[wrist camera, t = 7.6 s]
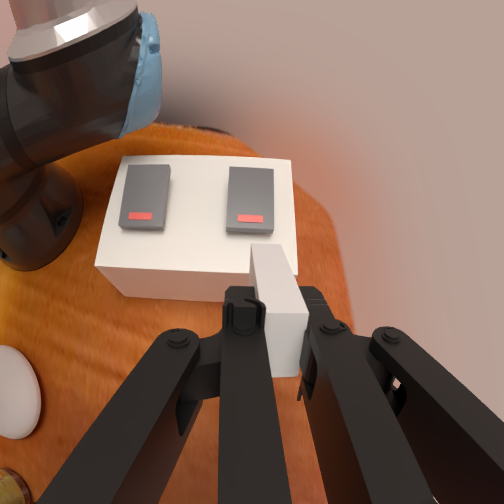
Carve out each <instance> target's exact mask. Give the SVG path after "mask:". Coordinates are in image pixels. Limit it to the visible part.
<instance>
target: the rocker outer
mask: <svg viewBox="0 0 504 504" xmlns="http://www.w3.org/2000/svg"><path fill="white" fill-rule="evenodd" d="M273 231H274V169H269V168H252V167H232V166H229V182H228V199H227V217H226V232H246V233H269V234H273Z"/></svg>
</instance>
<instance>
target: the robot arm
mask: <svg viewBox="0 0 504 504" xmlns="http://www.w3.org/2000/svg"><path fill="white" fill-rule="evenodd" d="M9 3H10V7H11V10H12V13H13V17H14V20H15V23H16V26H17V30H16V34H15V36H14V38H13V40H12V42H11V45H10V47H9V50H8V52H7V54H8V58H9V61H10V64H8V65H6V66H5V67H2V68H0V259H1V260H2V261H3V262H5V263H6V264H7V265H9V266H10V267H12V268H14V269H16V270H20V271H30V270H34V269H38V268H40V267H42V266H44V265H46V264H48V263H49V262H51V261H52V260H53V259H55V258H56V257H57V256H58V255H59V254H60V253H61V252H62V251H63V250H64V249H65V248H66V246H67V245H68V244H69V242H70V241H71V239H72V238H73V236H74V234H75V232H76V230H77V228H78V226H79V223H80V220H81V216H82V211H83V198H82V193H81V191H80V188H79V187H78V185H77V183H76V182H75V180H74V178H73V177H72V176H71V174H70V173H69V172H68V171H66V170H65V169H63V168H62V167H61V166H59V165H58V164H56V163H55V162H54V161H56V160H59V159H61V158H64V157H66V156H69V155H71V154H74V153H76V152H79V151H82V150H84V149H87V148H90V147H93V146H95V145H98V144H101V143H104V142H107V141H110V140H113V139H116V140H117V139H120V138H122V137H123V136H124V135H125V134H128V133H131V132H134V131H136V130H139V129H142V128H145V127H147V126H149V125H150V124H151V123H152V122H153V121H154V120H155V119H156V118H157V116H158V114H159V111H160V106H161V98H162V64H161V63H162V62H161V55H160V52H159V50H160V37H159V30H158V25H157V21H156V19H155V17H154V15H153V14H152V13H145V12H140V13H138V8H137V1H136V0H9ZM299 367H300V368H301V371H302V377H301V382H300V387H299V391H298V396H297V401H300V400H301V395H303V399H304V403H305V408H306V412H307V416H308V420H309V424H310V428H311V433H312V437H313V441H314V445H315V449H316V454H317V458H318V462H319V466H320V471H321V475H322V479H323V484H324V488H325V492H326V497H327V501H328V504H438V503H439V504H504V422H503V421H502V420H501V419H499V418H498V417H497V416H496V415H495V414H494V413H493V412H492V411H491V410H490V409H489V408H488V407H487V406H486V405H485V404H484V403H482V402H481V401H480V400H479V399H478V398H477V397H476V396H475V395H474V394H473V393H472V392H471V391H469V390H468V389H467V388H466V387H465V386H464V385H463V384H462V383H461V382H459V381H458V380H457V379H456V378H455V377H454V376H453V375H452V374H451V373H450V372H448V371H447V370H446V369H445V368H444V367H443V366H442V365H441V364H440V363H438V362H437V361H436V360H435V359H434V358H433V357H432V356H431V355H429V354H428V353H427V352H426V351H425V350H424V349H422V348H421V347H420V346H419V345H418V344H417V343H416V342H414V341H413V340H412V339H411V338H410V337H409V336H408V335H406V334H405V333H404V332H402V331H401V330H399V329H396V328H394V327H379V328H377V329H375V330H374V332H373V334H372V337H364V336H358V335H354V334H352V332H351V330H350V328H349V327H348V326H347V325H346V324H345V323H343V322H342V321H340V320H336V319H335V318H334V316H333V314H332V312H331V310H330V308H329V306H328V305H327V302H326V301H325V300H324V297H323V295H322V293H321V292H320V291H319V290H318V289H316V288H315V287H314V286H298V285H297V282H296V280H295V277H294V275H293V272H292V270H291V268H290V265H289V263H288V260H287V258H286V255H285V253H284V251H283V248H282V246H281V244H261V243H251V250H250V269H249V286H230V287H229V288H228V289H227V290H226V291H225V298H224V304H223V318H222V329H221V330H220V332H218V333H217V334H215V335H213V336H211V337H206V338H201V339H199V337H198V335H197V334H196V333H194V332H193V331H190V330H187V329H179V328H177V329H170V330H167V331H165V332H163V333H161V334H160V335H159V336H158V337H157V338H156V340H155V341H154V342H153V344H152V345H151V346H150V348H149V349H148V350H147V352H146V353H145V354H144V356H143V357H142V358H141V360H140V361H139V362H138V363H137V365H136V366H135V367H134V369H133V370H132V371H131V373H130V374H129V375H128V377H127V378H126V379H125V381H124V382H123V383H122V385H121V386H120V387H119V389H118V390H117V391H116V393H115V394H114V396H113V397H112V398H111V400H110V401H109V402H108V404H107V405H106V406H105V408H104V409H103V410H102V412H101V413H100V414H99V416H98V417H97V419H96V420H95V421H94V423H93V424H92V425H91V427H90V428H89V430H88V431H87V432H86V434H85V435H84V436H83V438H82V439H81V441H80V442H79V443H78V445H77V446H76V448H75V449H74V450H73V452H72V453H71V454H70V456H69V457H68V459H67V460H66V461H65V463H64V464H63V466H62V467H61V469H60V470H59V471H58V473H57V474H56V476H55V477H54V478H53V480H52V481H51V483H50V484H49V486H48V487H47V488H46V490H45V491H44V493H43V494H42V496H41V497H40V499H39V500H38V501H37V503H36V504H158V502H159V500H160V498H161V496H162V493H163V491H164V489H165V487H166V485H167V482H168V480H169V478H170V476H171V474H172V471H173V469H174V467H175V465H176V462H177V460H178V458H179V456H180V454H181V451H182V449H183V447H184V445H185V442H186V440H187V438H188V436H189V433H190V431H191V429H192V427H193V424H194V422H195V420H196V417H197V415H198V413H199V411H200V408H201V406H202V403H203V400H204V399H209V398H214V397H218V396H220V410H219V455H218V504H292V502H291V495H290V489H289V483H288V476H287V470H286V464H285V457H284V451H283V444H282V438H281V432H280V425H279V419H278V413H277V406H276V400H275V394H274V387H273V381H272V377H298V372H299ZM395 378H397V380H398V381H399V382H400V383H401V384H400V386H399V388H398V389H397V388H396V387H395V386H394V385H393V382H394V380H395ZM432 495H433V496H434V497H435V499H436V500H437V501H438V503H437V502H436V501H435V500H434V498H433V496H432Z"/></svg>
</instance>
